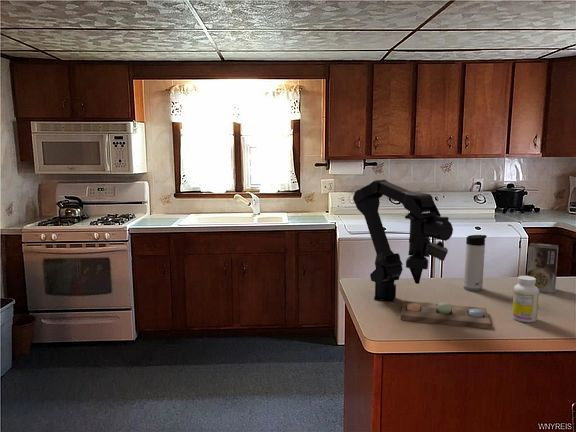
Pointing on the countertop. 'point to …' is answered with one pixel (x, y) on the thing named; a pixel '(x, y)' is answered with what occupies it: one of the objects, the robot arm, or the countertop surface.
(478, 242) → the travel mug
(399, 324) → the countertop surface
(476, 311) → the slate button
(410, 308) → the terracotta button
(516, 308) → the supplement bottle
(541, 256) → the coffee box
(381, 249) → the robot arm
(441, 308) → the sage button
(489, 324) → the button panel
